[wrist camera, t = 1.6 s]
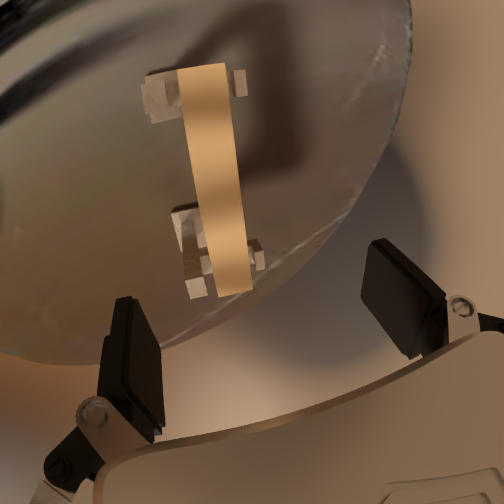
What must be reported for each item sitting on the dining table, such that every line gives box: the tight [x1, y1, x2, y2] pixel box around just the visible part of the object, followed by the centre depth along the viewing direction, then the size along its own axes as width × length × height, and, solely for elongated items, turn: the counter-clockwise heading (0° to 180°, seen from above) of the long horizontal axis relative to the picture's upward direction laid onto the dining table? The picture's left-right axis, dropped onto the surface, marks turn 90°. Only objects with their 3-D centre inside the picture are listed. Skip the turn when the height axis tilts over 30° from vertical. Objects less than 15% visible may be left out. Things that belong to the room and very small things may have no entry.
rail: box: [177, 63, 253, 297], centre depth 21 cm, size 18×3×3 cm, turn 6°
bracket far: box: [171, 206, 265, 299], centre depth 28 cm, size 5×8×11 cm, turn 96°
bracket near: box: [141, 68, 248, 124], centre depth 20 cm, size 5×8×11 cm, turn 96°
